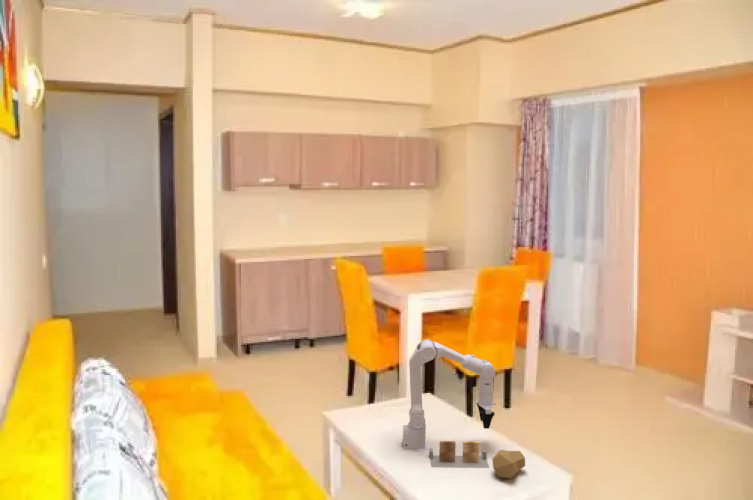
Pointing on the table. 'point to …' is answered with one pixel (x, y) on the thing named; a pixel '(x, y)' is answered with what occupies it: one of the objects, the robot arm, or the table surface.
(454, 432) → the table surface
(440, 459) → the walnut tile
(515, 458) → the low-poly potato
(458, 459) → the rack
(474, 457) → the oak tile
